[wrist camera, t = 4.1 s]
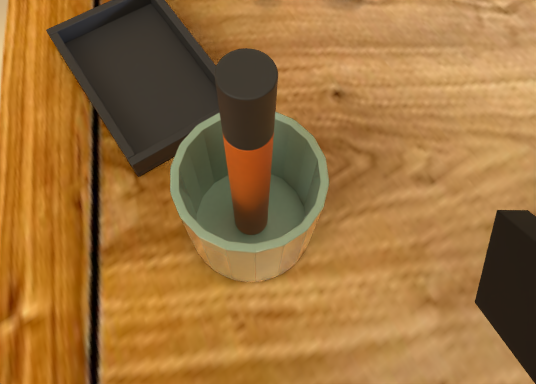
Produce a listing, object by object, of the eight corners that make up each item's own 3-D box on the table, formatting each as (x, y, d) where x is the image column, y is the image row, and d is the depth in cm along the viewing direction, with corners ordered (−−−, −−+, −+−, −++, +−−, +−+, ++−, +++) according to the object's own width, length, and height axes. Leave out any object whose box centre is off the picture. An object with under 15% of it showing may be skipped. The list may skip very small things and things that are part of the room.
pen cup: (252, 146, 35) (251, 82, 27) (336, 223, 33) (361, 177, 25) (165, 220, 32) (136, 172, 25) (249, 309, 30) (247, 288, 22)
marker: (251, 198, 33) (247, 37, 17) (274, 219, 32) (291, 73, 16) (228, 219, 32) (200, 72, 16) (250, 241, 31) (244, 111, 16)
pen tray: (55, 46, 38) (45, 29, 37) (155, -1, 41) (150, -18, 39) (138, 177, 34) (131, 165, 32) (245, 116, 36) (245, 102, 34)
